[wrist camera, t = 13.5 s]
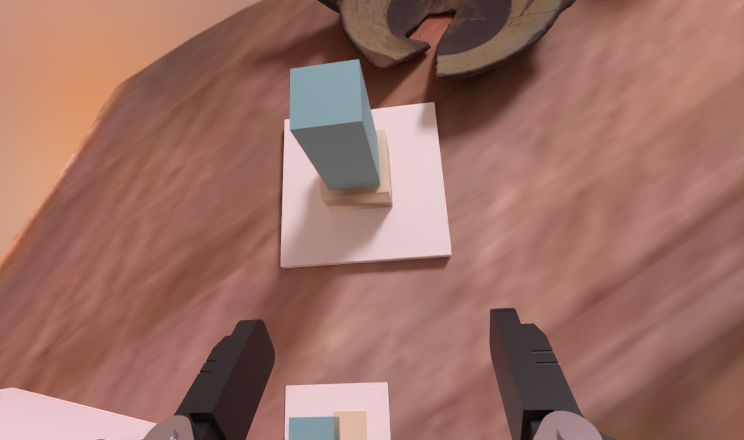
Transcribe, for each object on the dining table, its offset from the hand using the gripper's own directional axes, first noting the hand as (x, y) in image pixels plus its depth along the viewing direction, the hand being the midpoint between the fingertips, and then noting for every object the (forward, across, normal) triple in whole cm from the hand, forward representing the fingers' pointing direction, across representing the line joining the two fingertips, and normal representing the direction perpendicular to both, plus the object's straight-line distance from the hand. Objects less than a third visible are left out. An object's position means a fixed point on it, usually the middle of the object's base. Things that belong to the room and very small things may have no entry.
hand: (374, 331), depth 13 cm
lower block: (+24, +4, +4) cm, 24 cm away
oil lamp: (+40, -4, -10) cm, 41 cm away
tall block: (+21, +4, +1) cm, 21 cm away
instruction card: (+9, +6, +20) cm, 23 cm away
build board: (+24, +4, +4) cm, 25 cm away
